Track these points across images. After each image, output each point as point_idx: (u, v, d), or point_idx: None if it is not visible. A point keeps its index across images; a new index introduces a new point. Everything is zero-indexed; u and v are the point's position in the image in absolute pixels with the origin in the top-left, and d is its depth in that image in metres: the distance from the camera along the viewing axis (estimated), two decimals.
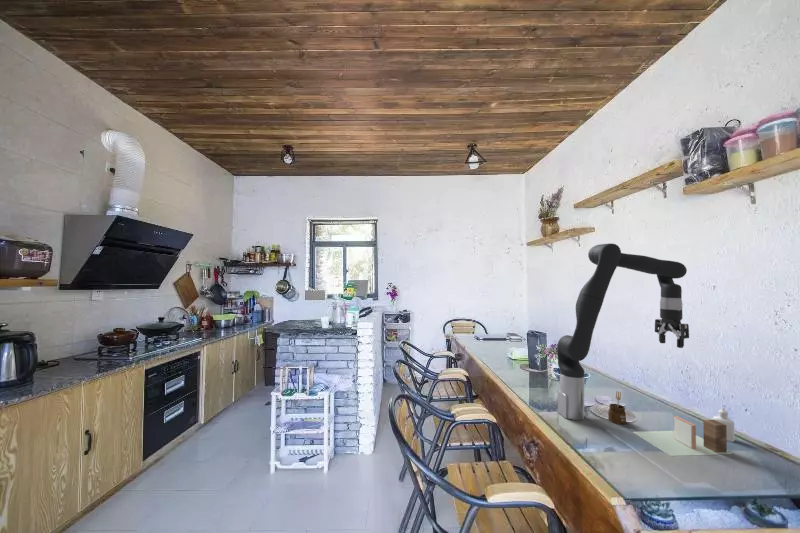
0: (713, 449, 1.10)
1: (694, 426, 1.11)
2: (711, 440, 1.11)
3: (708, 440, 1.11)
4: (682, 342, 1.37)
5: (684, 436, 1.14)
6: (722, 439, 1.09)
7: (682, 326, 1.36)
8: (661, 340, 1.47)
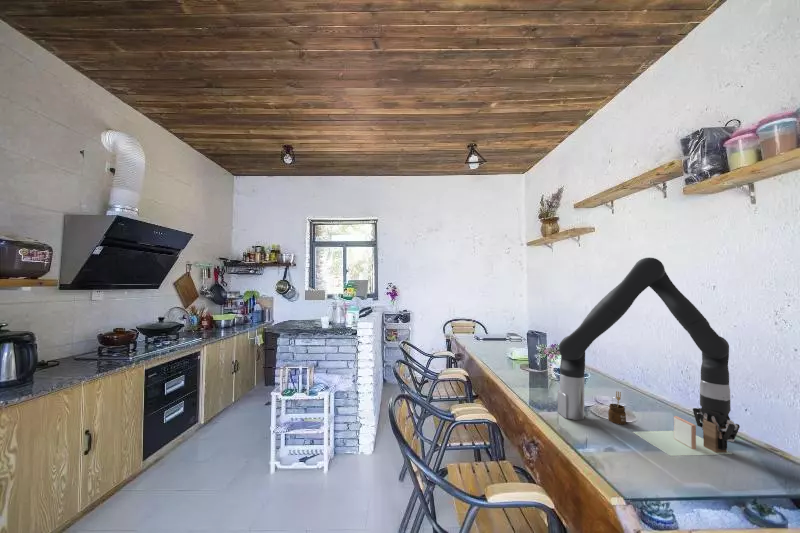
0: (713, 449, 1.10)
1: (694, 426, 1.11)
2: (711, 440, 1.11)
3: (708, 440, 1.11)
4: (725, 443, 1.08)
5: (684, 436, 1.14)
6: None
7: (731, 427, 1.05)
8: None
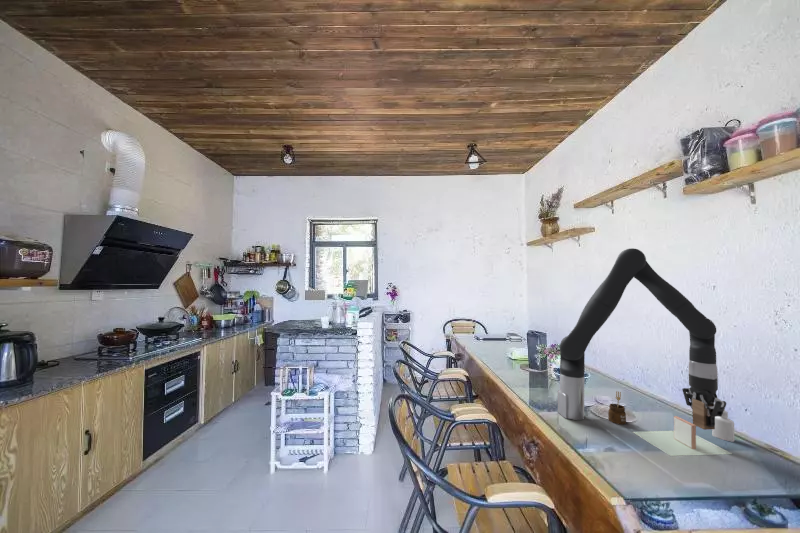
0: (702, 426, 1.14)
1: (694, 426, 1.11)
2: (699, 418, 1.15)
3: (697, 418, 1.16)
4: (713, 420, 1.12)
5: (684, 436, 1.14)
6: None
7: (718, 404, 1.09)
8: None
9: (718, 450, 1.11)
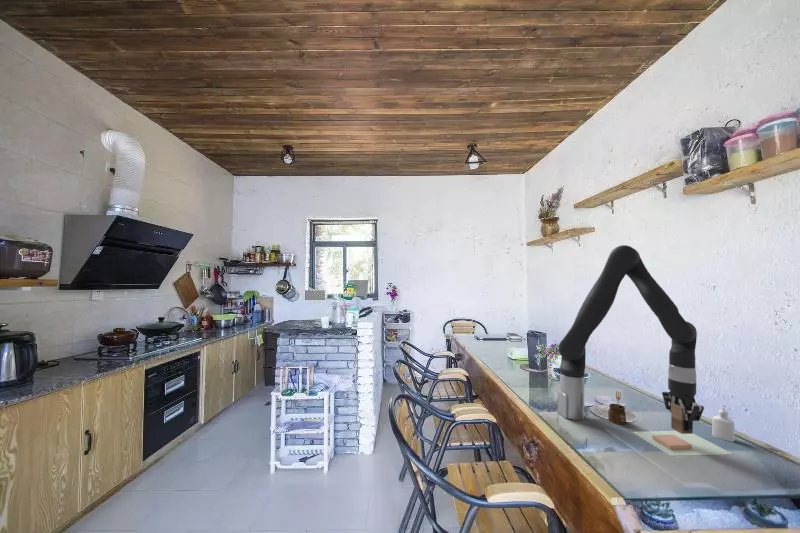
0: (680, 430, 1.14)
1: (671, 447, 1.11)
2: (677, 422, 1.14)
3: (675, 422, 1.15)
4: (690, 425, 1.12)
5: None
6: None
7: (695, 409, 1.09)
8: None
9: (718, 450, 1.11)
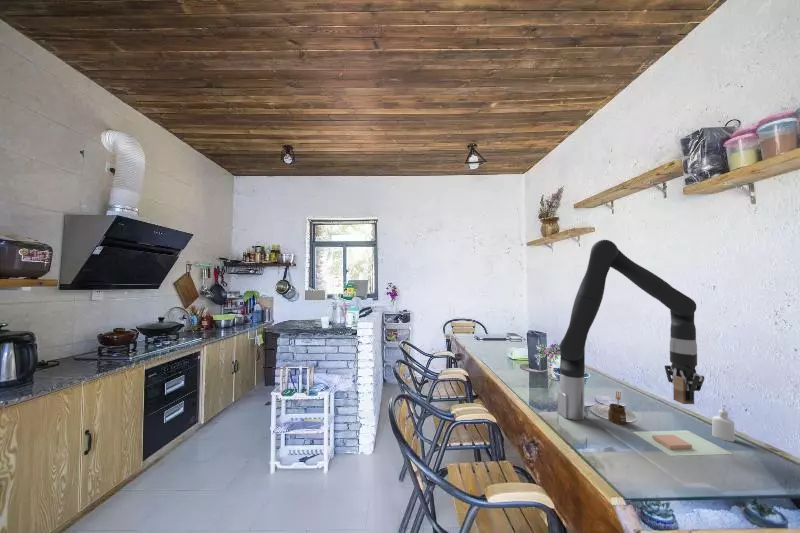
0: (681, 401, 1.17)
1: (671, 447, 1.11)
2: (679, 393, 1.18)
3: (677, 393, 1.19)
4: (692, 395, 1.15)
5: None
6: None
7: (696, 379, 1.12)
8: None
9: (718, 450, 1.11)
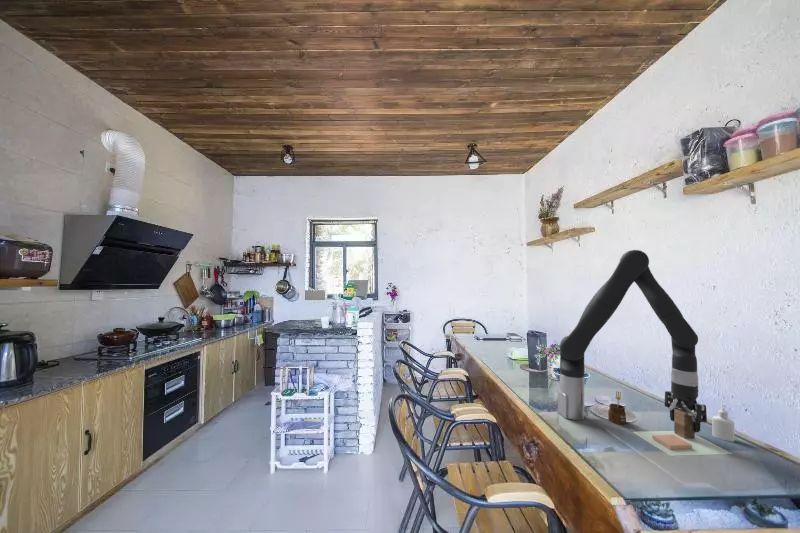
0: (682, 436, 1.19)
1: (671, 447, 1.11)
2: (680, 427, 1.20)
3: (678, 427, 1.20)
4: (698, 426, 1.15)
5: None
6: (690, 427, 1.18)
7: (698, 408, 1.14)
8: (672, 417, 1.24)
9: (718, 450, 1.11)
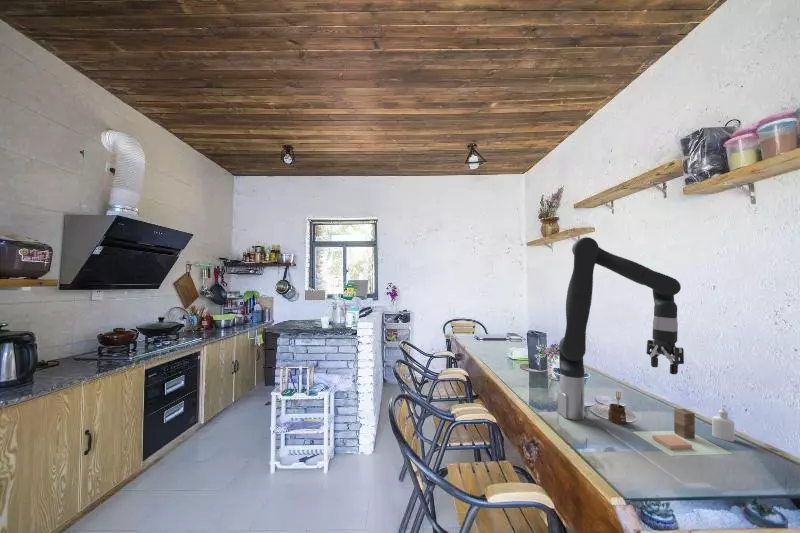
0: (682, 436, 1.19)
1: (671, 447, 1.11)
2: (680, 427, 1.20)
3: (678, 427, 1.20)
4: (676, 368, 1.22)
5: None
6: (690, 427, 1.18)
7: (676, 350, 1.21)
8: (653, 364, 1.31)
9: (718, 450, 1.11)
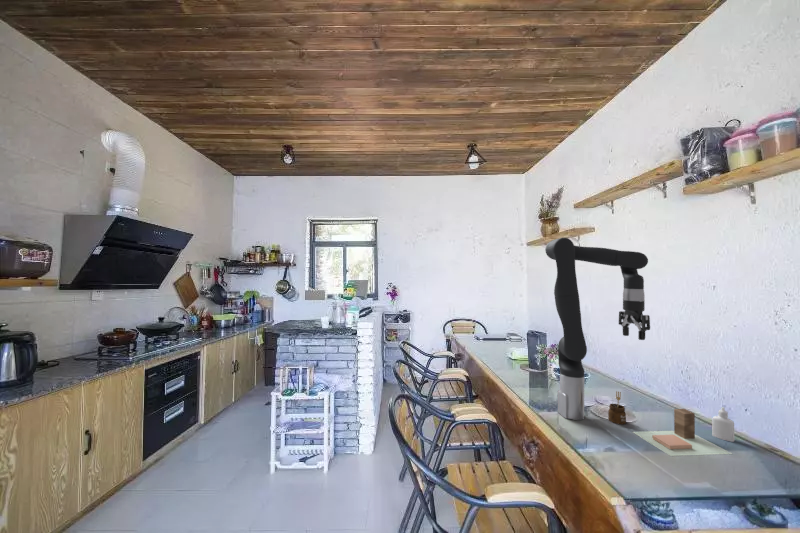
0: (682, 436, 1.19)
1: (671, 447, 1.11)
2: (680, 427, 1.20)
3: (678, 427, 1.20)
4: (643, 334, 1.34)
5: None
6: (690, 427, 1.18)
7: (643, 317, 1.33)
8: (624, 332, 1.43)
9: (718, 450, 1.11)
